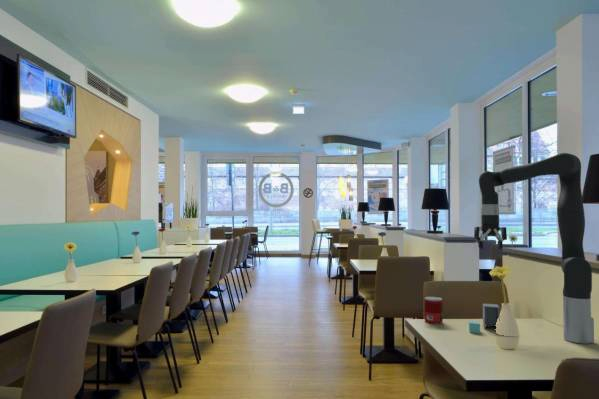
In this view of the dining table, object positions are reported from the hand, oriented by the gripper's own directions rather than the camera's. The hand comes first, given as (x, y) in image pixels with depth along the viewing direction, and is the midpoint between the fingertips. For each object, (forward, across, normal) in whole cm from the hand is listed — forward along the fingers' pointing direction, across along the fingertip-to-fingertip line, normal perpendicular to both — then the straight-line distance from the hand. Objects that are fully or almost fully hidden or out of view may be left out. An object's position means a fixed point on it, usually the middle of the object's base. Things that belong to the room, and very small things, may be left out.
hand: (490, 249), depth 191 cm
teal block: (+34, -14, -14) cm, 40 cm away
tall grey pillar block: (+34, -4, -8) cm, 35 cm away
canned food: (+34, -26, +2) cm, 43 cm away
